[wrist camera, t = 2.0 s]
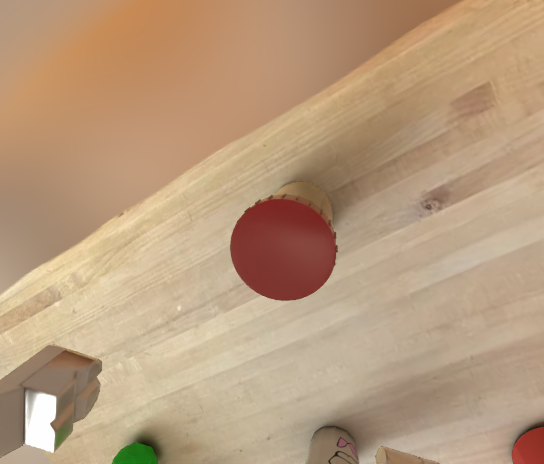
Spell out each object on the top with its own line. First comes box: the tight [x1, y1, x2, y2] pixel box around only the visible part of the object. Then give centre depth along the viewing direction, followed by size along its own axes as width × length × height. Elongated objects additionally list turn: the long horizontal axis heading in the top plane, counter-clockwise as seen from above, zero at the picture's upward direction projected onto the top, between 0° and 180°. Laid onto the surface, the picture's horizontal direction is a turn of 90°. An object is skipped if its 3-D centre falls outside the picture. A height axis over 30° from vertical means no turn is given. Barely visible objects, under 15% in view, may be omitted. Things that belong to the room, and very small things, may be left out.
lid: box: [230, 193, 338, 301], centre depth 20 cm, size 6×6×2 cm
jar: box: [273, 181, 333, 224], centre depth 25 cm, size 6×6×10 cm
